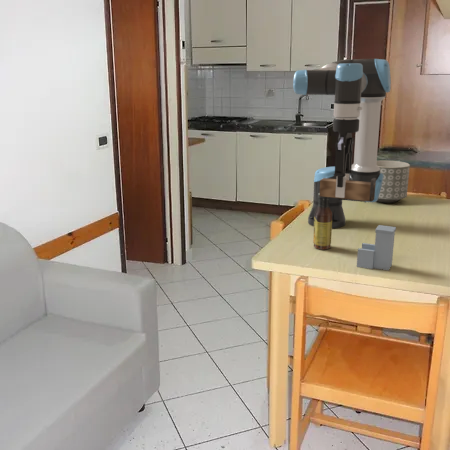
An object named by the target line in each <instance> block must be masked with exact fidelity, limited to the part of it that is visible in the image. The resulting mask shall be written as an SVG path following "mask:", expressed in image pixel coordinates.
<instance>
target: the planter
mask: <svg viewBox="0 0 450 450" xmlns="http://www.w3.org/2000/svg"><path fill="white" fill-rule="evenodd" d="M376 164H377V166H378V167H379V168H380V173H382V174H383V175H384V176H383V182H382V186H381V190H380V194H379V198H378V200H377V201H376V202H378V203H381V204H382V203H383V204H385V203H386V204H392V203H396V202H398V201H400V200H402V199H406V198H407V196H408V189H409V187H408V186H409V179H410V178H409V176H410V167H411V164H409V163H408V162H404V161H399V160H382V159H381V160H377V163H376Z"/></svg>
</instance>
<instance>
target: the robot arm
mask: <svg viewBox="0 0 450 450" xmlns="http://www.w3.org/2000/svg"><path fill="white" fill-rule="evenodd" d="M391 80H392V79H391V68H390V63H389V61H388V60H387V59H383V58H382V59H381V58H380V59H379V58H360V59H356V58H355V59H352V58H350V59H348V58H347V59H340V60H337V61H332V62H328V63H327V64H325V65H323V66H321V67H320V68H315V69H300V70H299V69H298V70H296V71H295V72H294V74H293V83H292V87H293V91H294V94H296V95H303V96H307V95H309V96H310V95H311V96H314V95H315V96H318V95H319V96H320V95H321V96H334V100H333V101H334V102H333V117H334V119H333V120H332V121H333V122H332V131H333V132H334V133H338V134H339V135H338V137H337V139H336V142H335V144H334V146H335V159H334V166H327V167H321V168H318V169H317V170H315V172H314V178H313V201H312V202H313V203H312V207H311V209H310V212H309V214H308V216H307V217H308V218H307V222H308V224H309V225H310V226H313V227H314V215H315V212H316V210H317V207H318V200H319V199H318V194H319V193H320V180H321V179H323V178H329V179H336V193H335V197H339V198H333V197H330V198H329V208H330V210H331V212H332V229H338V228H341V227H345V226H346V215H345V213H344V212H345V211H344V209H343V201H347V202H348V201H349V202H361V203H362V202H363V203H376V202H378V201H377V200H378V198H379V194H380V190H381V186H382V182H383V176H384V175H383V174H382V173H380V168H379V167H378V166H377V164H376V163H377V161H378V149H379V148H378V146H379V134H380V132H379V131H380V121H381V108H382V106H381V105H382V101H383V100H384V99H385V98H386V97H387V94H388V93H390V92H391V87H392V86H391V85H392V81H391ZM354 133H355V135H354V136H355V137H353V134H354ZM353 152H354V153H353ZM373 178H376V184H375V197H374V200H373V201H362V200H352V199H343V198H345V185H346V180H351V181H362V182H371V179H373Z"/></svg>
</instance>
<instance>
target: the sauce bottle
mask: <svg viewBox="0 0 450 450" xmlns="http://www.w3.org/2000/svg"><path fill="white" fill-rule="evenodd" d="M319 195H320V193H319V194H318V199H319V200H318V207H317V210H316V212H315V215H314V226H313V241H312V243H313V248H314V249H317V250H322V251H325V250H329V249H330V248H331V246H332V245H331V244H332V231H333V228H332V212H331V210H330V208H329V198H330V197H324V196H319Z"/></svg>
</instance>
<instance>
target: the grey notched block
mask: <svg viewBox="0 0 450 450" xmlns="http://www.w3.org/2000/svg"><path fill="white" fill-rule="evenodd" d="M396 231H397V227H396V226H392V225H391V226H389V225H382V224H378V225H377V227H376V228H375V230H374V233H375V239H374V243H373V244H372V243H367V242H365V243H364V242H363V243H361V248H360V247H359V248H358V249H357V257H356V258H357V259H356V267H357V268H362V267H363V268H364V269H369V270H373V269H376V270H382V269H383V271H390V270H389V269H391V268H390V267H392V265H393V256H394V245H395V244H394V243H395V233H396Z"/></svg>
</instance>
